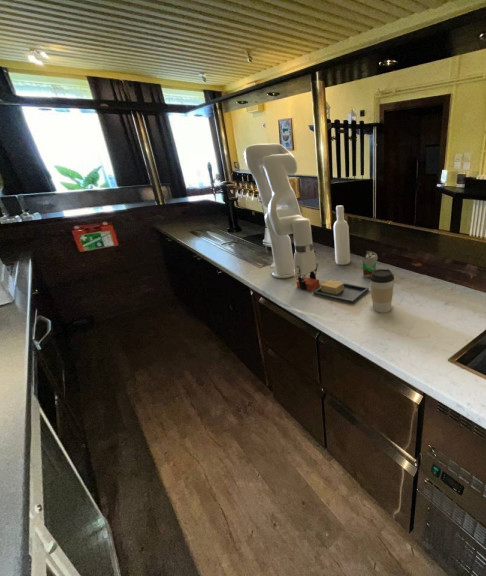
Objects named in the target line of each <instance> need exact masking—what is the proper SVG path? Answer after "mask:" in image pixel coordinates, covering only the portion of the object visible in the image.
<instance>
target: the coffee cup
mask: <svg viewBox="0 0 486 576" xmlns="http://www.w3.org/2000/svg"><path fill="white" fill-rule="evenodd" d="M394 280H395V274H393V273H392V271H391V269H388V268H387V269H382V268H381V269H379V268H378V269H376V270H375V271H373V273H372V274H371V275H370V277H369V281H370V282H369V283H370V284H369V286H370V295H371V301H372V302H371V303H372V310H373V311H375V312H377V313H388V312H390V311H391V309H392V302H393V301H392V300H393V296H394V295H393V293H394V286H395V285H394V282H395V281H394Z"/></svg>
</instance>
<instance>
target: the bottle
mask: <svg viewBox="0 0 486 576" xmlns="http://www.w3.org/2000/svg"><path fill="white" fill-rule="evenodd" d="M335 211H336V221H334V223H333V240H334V255H335V256H334V258H335V259H334V260H335V264H336V265H341V266H344V265H349V264H350V263H351V249H350V248H351V247H350V232H349V230H350V229H349V228H350V227H349V224H348V221H346V220H345V208H344V205H336V207H335Z"/></svg>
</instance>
